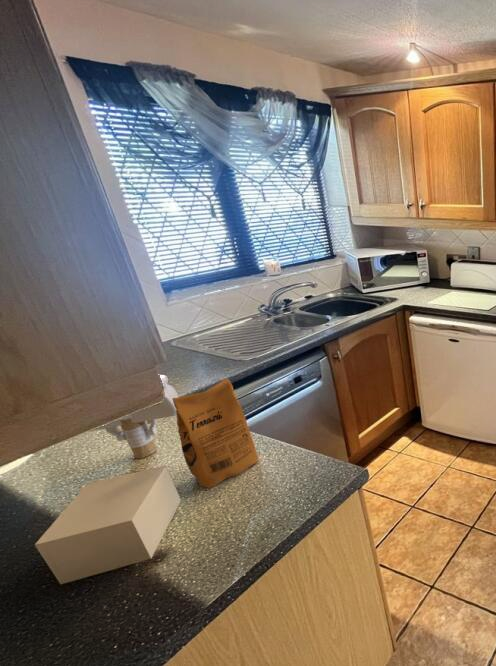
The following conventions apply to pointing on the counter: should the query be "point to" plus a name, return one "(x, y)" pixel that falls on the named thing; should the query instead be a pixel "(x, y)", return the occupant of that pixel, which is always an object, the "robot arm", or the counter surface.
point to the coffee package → (214, 434)
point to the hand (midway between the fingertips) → (138, 436)
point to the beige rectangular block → (110, 525)
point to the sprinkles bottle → (137, 437)
